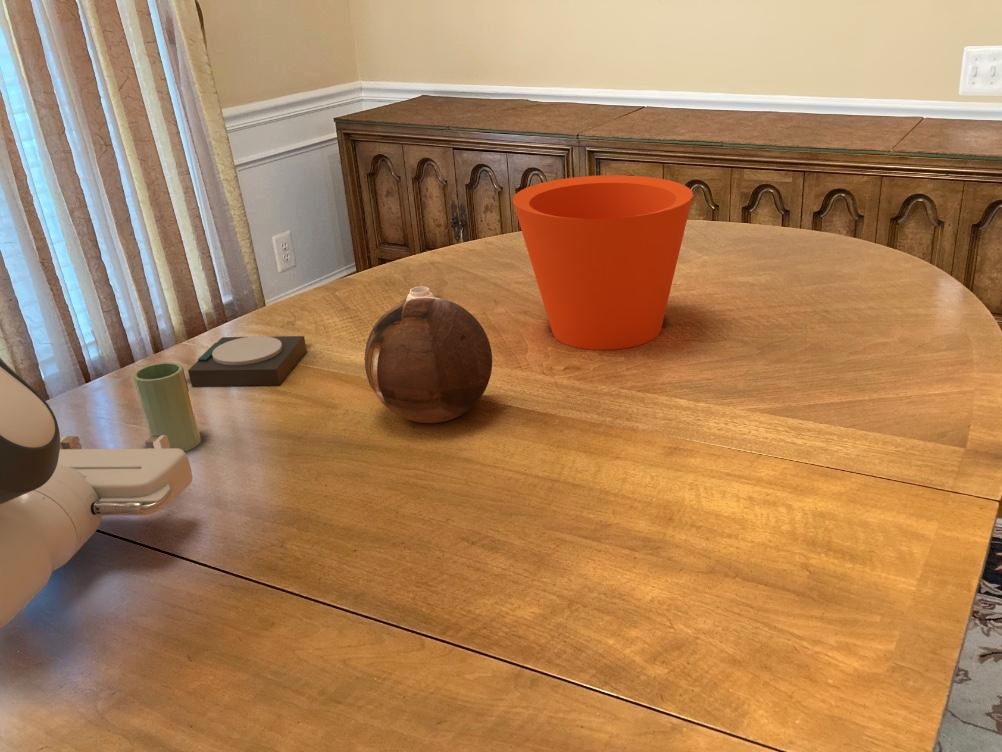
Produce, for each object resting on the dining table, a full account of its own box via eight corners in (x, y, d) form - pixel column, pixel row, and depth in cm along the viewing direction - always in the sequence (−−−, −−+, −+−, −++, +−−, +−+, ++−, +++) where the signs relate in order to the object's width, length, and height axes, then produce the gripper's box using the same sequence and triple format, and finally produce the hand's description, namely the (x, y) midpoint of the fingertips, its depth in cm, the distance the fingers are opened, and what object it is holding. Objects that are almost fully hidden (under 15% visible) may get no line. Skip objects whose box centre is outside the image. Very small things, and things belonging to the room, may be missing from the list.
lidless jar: (442, 308, 155) (429, 299, 159) (440, 290, 154) (427, 282, 158) (413, 314, 153) (400, 306, 157) (410, 296, 152) (398, 288, 155)
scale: (191, 386, 131) (186, 366, 129) (225, 352, 141) (221, 333, 140) (279, 385, 130) (275, 364, 129) (307, 351, 141) (303, 331, 139)
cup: (147, 460, 113) (124, 380, 108) (166, 439, 117) (145, 362, 112) (191, 460, 112) (170, 380, 108) (209, 439, 117) (189, 361, 112)
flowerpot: (604, 290, 160) (600, 168, 151) (725, 325, 145) (730, 190, 135) (487, 333, 145) (475, 199, 136) (609, 377, 129) (604, 229, 120)
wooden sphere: (487, 385, 128) (477, 274, 121) (505, 435, 115) (495, 314, 108) (371, 400, 125) (354, 287, 118) (376, 453, 112) (357, 330, 105)
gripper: (147, 480, 87) (208, 413, 100) (-73, 482, 88) (14, 415, 101) (164, 539, 90) (221, 467, 102) (-49, 540, 91) (33, 469, 104)
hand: (117, 441), depth 102 cm, fingers open, 8 cm apart
